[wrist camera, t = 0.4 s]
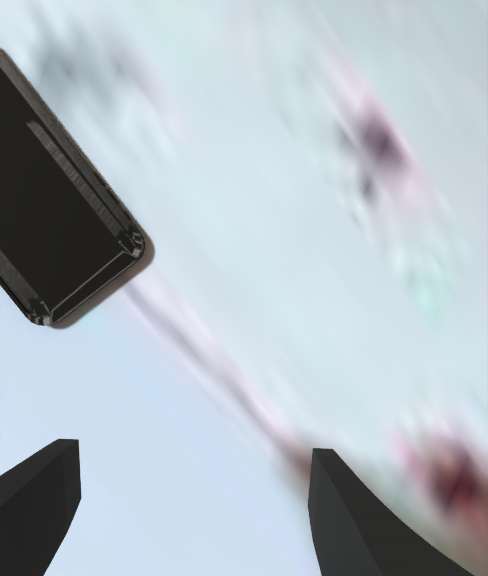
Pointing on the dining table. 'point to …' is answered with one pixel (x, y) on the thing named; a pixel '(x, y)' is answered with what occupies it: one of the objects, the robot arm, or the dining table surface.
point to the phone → (53, 213)
